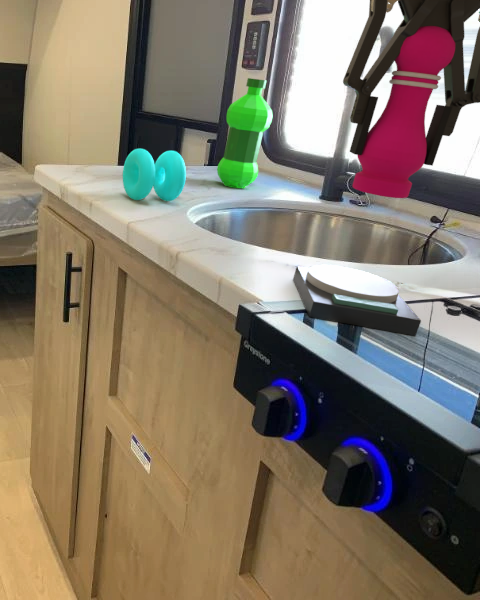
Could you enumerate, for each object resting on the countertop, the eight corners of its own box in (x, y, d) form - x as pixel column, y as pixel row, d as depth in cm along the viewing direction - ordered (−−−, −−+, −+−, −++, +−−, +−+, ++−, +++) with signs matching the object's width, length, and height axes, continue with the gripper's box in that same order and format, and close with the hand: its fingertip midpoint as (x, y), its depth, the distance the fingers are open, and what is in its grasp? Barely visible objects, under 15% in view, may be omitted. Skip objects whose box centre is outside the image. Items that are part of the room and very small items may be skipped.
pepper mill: (395, 201, 67) (459, 5, 60) (336, 186, 72) (388, 3, 65) (422, 198, 72) (484, 15, 64) (364, 184, 77) (416, 13, 69)
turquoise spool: (183, 206, 119) (193, 156, 115) (138, 205, 115) (147, 153, 111) (159, 194, 127) (167, 146, 123) (117, 193, 123) (124, 143, 120)
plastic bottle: (205, 180, 151) (226, 75, 142) (241, 182, 154) (264, 80, 145) (225, 189, 142) (249, 78, 133) (263, 191, 146) (289, 83, 136)
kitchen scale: (382, 294, 82) (389, 274, 81) (415, 336, 69) (424, 312, 68) (293, 279, 83) (298, 259, 82) (308, 317, 71) (315, 293, 69)
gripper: (367, -83, 60) (307, 149, 69) (586, -62, 57) (494, 176, 66) (351, -67, 67) (298, 142, 75) (545, -48, 64) (467, 166, 73)
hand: (389, 158), depth 71 cm, fingers closed on pepper mill, 7 cm apart
